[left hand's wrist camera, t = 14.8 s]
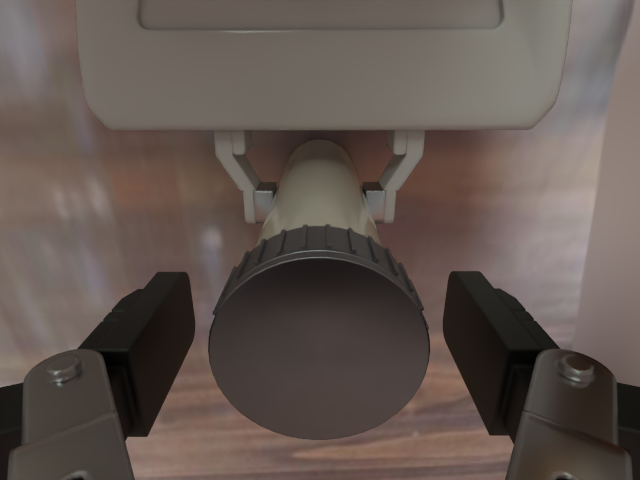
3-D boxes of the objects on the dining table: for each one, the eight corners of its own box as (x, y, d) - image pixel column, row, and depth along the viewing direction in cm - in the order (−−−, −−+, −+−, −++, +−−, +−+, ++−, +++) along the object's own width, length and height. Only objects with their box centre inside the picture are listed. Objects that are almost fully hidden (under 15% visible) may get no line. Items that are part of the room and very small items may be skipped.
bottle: (366, 158, 26) (451, 309, 9) (334, 217, 28) (357, 440, 11) (303, 126, 26) (271, 226, 9) (274, 189, 27) (196, 379, 10)
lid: (452, 273, 11) (480, 313, 9) (357, 411, 12) (364, 468, 11) (270, 186, 10) (259, 211, 8) (196, 347, 12) (173, 398, 10)
